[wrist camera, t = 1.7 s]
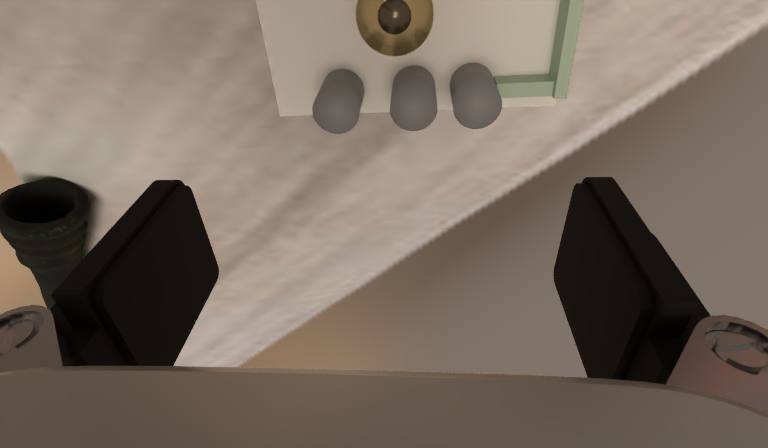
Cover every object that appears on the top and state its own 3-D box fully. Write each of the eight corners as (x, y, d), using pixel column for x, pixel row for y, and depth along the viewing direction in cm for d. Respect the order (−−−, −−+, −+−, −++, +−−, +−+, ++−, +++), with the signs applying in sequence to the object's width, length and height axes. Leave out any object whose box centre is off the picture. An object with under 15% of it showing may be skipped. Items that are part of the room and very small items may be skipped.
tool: (29, 163, 39) (-33, 205, 34) (105, 191, 40) (57, 236, 35) (40, 343, 55) (-1, 392, 50) (95, 360, 56) (61, 409, 51)
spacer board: (237, -119, 26) (203, -121, 22) (591, -149, 25) (627, -157, 20) (283, 110, 35) (265, 140, 30) (551, 99, 33) (571, 129, 29)
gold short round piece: (356, -32, 28) (351, -25, 25) (432, -37, 27) (433, -31, 25) (363, 46, 30) (359, 58, 28) (432, 42, 30) (433, 54, 28)
